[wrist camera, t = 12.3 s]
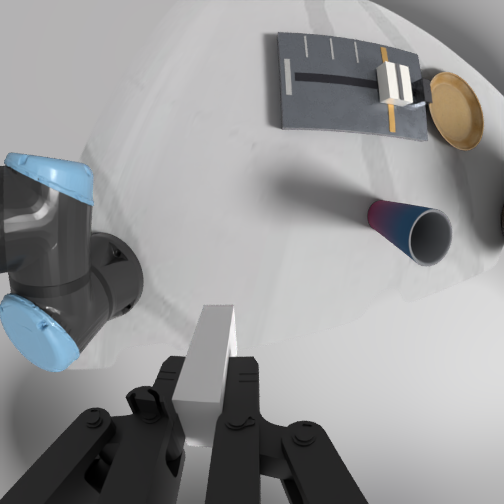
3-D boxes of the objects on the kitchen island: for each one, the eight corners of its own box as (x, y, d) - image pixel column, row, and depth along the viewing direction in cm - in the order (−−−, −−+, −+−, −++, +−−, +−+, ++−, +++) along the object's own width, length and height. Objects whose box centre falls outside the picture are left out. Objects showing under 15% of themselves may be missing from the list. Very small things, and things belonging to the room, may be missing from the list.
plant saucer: (484, 117, 35) (492, 116, 33) (457, 166, 39) (466, 167, 36) (438, 61, 33) (446, 57, 30) (407, 107, 36) (415, 104, 34)
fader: (380, 102, 34) (390, 97, 30) (376, 68, 32) (385, 60, 29) (402, 106, 34) (413, 102, 30) (398, 72, 32) (408, 66, 29)
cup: (362, 194, 40) (410, 209, 26) (398, 194, 40) (454, 209, 26) (362, 237, 42) (406, 269, 28) (397, 235, 42) (449, 264, 28)
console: (282, 129, 38) (285, 124, 33) (277, 37, 33) (279, 23, 29) (421, 141, 37) (437, 140, 33) (412, 57, 33) (426, 49, 28)
